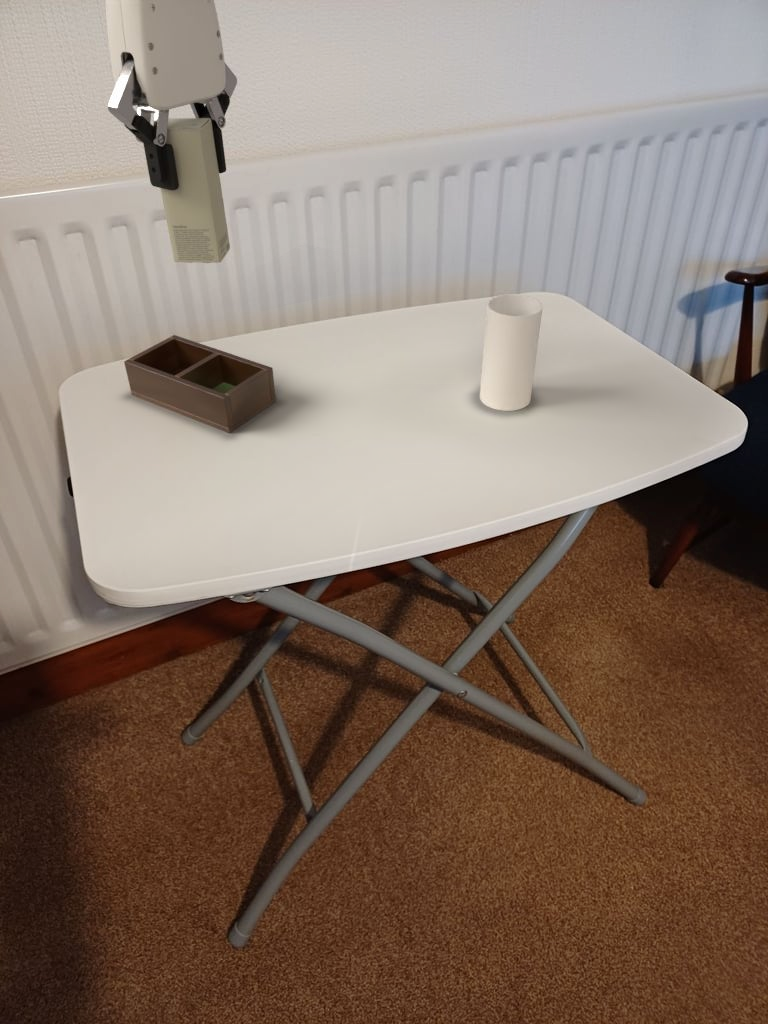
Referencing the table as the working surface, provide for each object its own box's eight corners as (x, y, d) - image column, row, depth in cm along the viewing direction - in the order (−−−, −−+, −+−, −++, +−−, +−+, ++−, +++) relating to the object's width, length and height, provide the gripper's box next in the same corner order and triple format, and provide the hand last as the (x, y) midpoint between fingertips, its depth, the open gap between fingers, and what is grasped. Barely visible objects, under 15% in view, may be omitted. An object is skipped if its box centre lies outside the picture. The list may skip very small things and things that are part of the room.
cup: (493, 414, 93) (502, 320, 85) (471, 390, 97) (478, 298, 90) (539, 405, 94) (552, 312, 87) (516, 381, 99) (526, 290, 91)
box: (231, 250, 83) (215, 117, 75) (220, 265, 80) (202, 127, 72) (183, 248, 84) (162, 115, 76) (170, 263, 80) (146, 126, 72)
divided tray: (229, 433, 90) (224, 398, 87) (131, 394, 96) (123, 361, 94) (276, 401, 95) (272, 367, 92) (180, 367, 102) (174, 334, 99)
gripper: (195, -54, 73) (220, 153, 84) (40, -42, 62) (94, 195, 73) (257, -51, 70) (275, 164, 81) (106, -38, 58) (152, 209, 70)
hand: (189, 177), depth 77 cm, fingers closed on box, 5 cm apart
